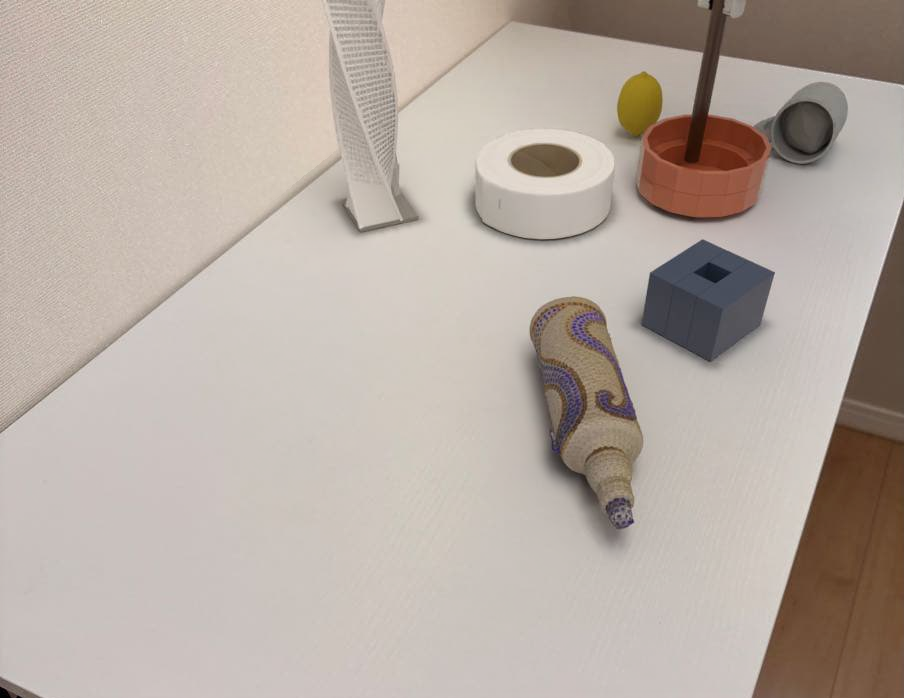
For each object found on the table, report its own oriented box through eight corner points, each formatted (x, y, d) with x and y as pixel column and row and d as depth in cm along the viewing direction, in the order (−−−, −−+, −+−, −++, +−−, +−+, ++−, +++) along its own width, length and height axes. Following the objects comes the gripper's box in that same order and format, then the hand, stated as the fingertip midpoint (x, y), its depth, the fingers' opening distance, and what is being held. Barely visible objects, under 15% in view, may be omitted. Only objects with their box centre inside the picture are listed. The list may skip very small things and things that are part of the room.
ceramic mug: (842, 142, 118) (859, 79, 113) (825, 170, 114) (843, 106, 108) (758, 126, 122) (772, 64, 116) (739, 153, 117) (752, 89, 112)
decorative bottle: (524, 353, 91) (528, 294, 86) (601, 349, 91) (609, 290, 86) (566, 555, 74) (574, 496, 69) (661, 549, 74) (675, 490, 69)
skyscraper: (422, 225, 107) (410, -54, 86) (354, 240, 105) (325, -41, 84) (398, 191, 112) (380, -80, 91) (333, 205, 110) (299, -69, 89)
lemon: (628, 122, 123) (636, 58, 117) (665, 134, 121) (675, 70, 115) (605, 138, 120) (612, 73, 114) (642, 151, 118) (651, 85, 112)
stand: (760, 324, 94) (775, 272, 89) (710, 362, 90) (722, 308, 85) (691, 290, 98) (702, 238, 93) (641, 324, 94) (649, 272, 89)
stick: (702, 160, 110) (740, -31, 95) (692, 165, 109) (729, -26, 94) (689, 154, 111) (725, -35, 96) (680, 160, 110) (714, -31, 95)
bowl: (782, 191, 111) (795, 141, 106) (710, 237, 104) (721, 186, 100) (684, 151, 118) (692, 103, 113) (611, 192, 111) (617, 142, 107)
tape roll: (446, 203, 110) (445, 157, 106) (541, 158, 117) (544, 114, 113) (541, 257, 102) (544, 210, 98) (638, 206, 109) (644, 160, 105)
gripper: (868, -135, 84) (823, 30, 95) (683, -174, 94) (661, -21, 104) (830, -120, 81) (788, 48, 92) (643, -162, 91) (625, -6, 102)
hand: (719, 11), depth 98 cm, fingers closed on stick, 2 cm apart
